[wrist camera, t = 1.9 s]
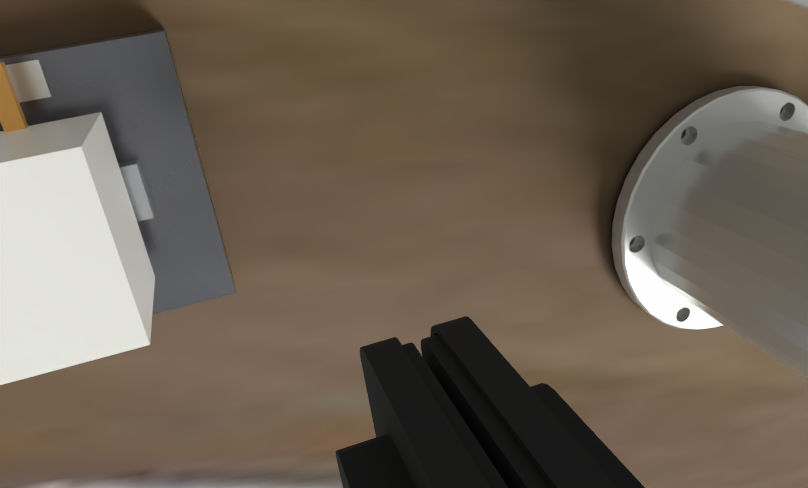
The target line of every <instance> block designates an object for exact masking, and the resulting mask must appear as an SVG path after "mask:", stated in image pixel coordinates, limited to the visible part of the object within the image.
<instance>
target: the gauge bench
mask: <svg viewBox="0 0 808 488" xmlns="http://www.w3.org/2000/svg"><path fill="white" fill-rule="evenodd" d="M0 62H4V63H5V66H6V68H7V71H8V74H9V76H10V79H11V82H12V84H13V87H14V90H15V92H16V95H17V98H18V100H19V103H20V106H21V108H22V111H23V114H24V116H25V119H26V122H27V124H28V126H31V125H36V124H41V123H47V122H52V121H57V120H62V119H67V118H73V117H78V116H83V115H88V114H93V113H99V112H101V113H102V116H103V119H104V122H105V125H106V128H107V131H108V134H109V137H110V140H111V143H112V147H113V150H114V153H115V156H116V159H117V162H118V165H119V168H120V171H121V174H122V177H123V180H124V183H125V186H126V189H127V192H128V195H129V199H130V202H131V205H132V208H133V211H134V214H135V217H136V220H137V223H138V226H139V229H140V232H141V235H142V238H143V241H144V244H145V247H146V251H147V254H148V257H149V260H150V263H151V266H152V269H153V272H154V275H155V285H154V298H153V311H152V314H155V313H159V312H163V311H167V310H171V309H175V308H178V307H182V306H186V305H190V304H194V303H198V302H201V301H205V300H209V299H213V298H217V297H221V296H224V295H228V294H232V293H236V291H235V286H234V281H233V276H232V272H231V269H230V265H229V261H228V258H227V254H226V250H225V247H224V243H223V239H222V236H221V232H220V228H219V225H218V221H217V217H216V214H215V210H214V207H213V203H212V199H211V196H210V192H209V188H208V185H207V181H206V177H205V174H204V170H203V166H202V163H201V159H200V155H199V152H198V148H197V144H196V141H195V137H194V134H193V130H192V126H191V123H190V119H189V115H188V112H187V108H186V104H185V101H184V97H183V93H182V90H181V86H180V82H179V79H178V75H177V71H176V68H175V64H174V61H173V57H172V53H171V50H170V46H169V42H168V39H167V35H166V31H165V28H164V29H159V30H153V31H147V32H141V33H135V34H129V35H123V36H117V37H111V38H105V39H99V40H94V41H88V42H82V43H76V44H70V45H64V46H58V47H52V48H46V49H40V50H34V51H29V52H23V53H17V54H11V55H5V56H0ZM0 131H4V130H3V127H2V125H1V122H0Z"/></svg>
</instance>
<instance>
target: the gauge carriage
mask: <svg viewBox="0 0 808 488" xmlns="http://www.w3.org/2000/svg"><path fill="white" fill-rule="evenodd" d="M0 122H1V125H2V127H3V130H4V131H0V385H2V384H6V383H10V382H14V381H17V380H21V379H25V378H28V377H32V376H36V375H40V374H43V373H47V372H51V371H54V370H58V369H62V368H65V367H69V366H73V365H77V364H80V363H84V362H88V361H91V360H95V359H99V358H103V357H106V356H110V355H114V354H117V353H121V352H125V351H129V350H132V349H136V348H140V347H143V346H147V345H150V337H151V324H152V311H153V298H154V285H155V275H154V272H153V269H152V266H151V263H150V260H149V257H148V254H147V251H146V247H145V244H144V241H143V238H142V235H141V232H140V229H139V226H138V223H137V220H136V217H135V214H134V211H133V208H132V205H131V202H130V199H129V195H128V192H127V189H126V186H125V183H124V180H123V177H122V174H121V171H120V168H119V165H118V162H117V159H116V156H115V153H114V150H113V147H112V143H111V140H110V137H109V134H108V131H107V128H106V125H105V122H104V119H103V116H102V113H101V112H99V113H93V114H88V115H83V116H78V117H73V118H67V119H62V120H57V121H52V122H47V123H41V124H36V125H31V126H28V124H27V122H26V119H25V116H24V114H23V111H22V108H21V106H20V103H19V100H18V98H17V95H16V92H15V90H14V87H13V84H12V82H11V79H10V76H9V74H8V71H7V68H6V66H5V63H4V62H0Z"/></svg>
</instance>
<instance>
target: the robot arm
mask: <svg viewBox="0 0 808 488" xmlns="http://www.w3.org/2000/svg"><path fill="white" fill-rule="evenodd" d="M612 252H613V258H614V264H615V269H616V271H617V274H618V277H619V279H620V282H621V284H622V286H623V288H624V289H625V291H626V292H627V293H628V295H629V296H630V298H631V299H632V301H634V302H635V303H636V304H637V305H638V306H639V307H641V308H642V309H643V310H644V311H645V312H647V313H648V314H650V315H651V316H653V317H654V318H656V319H658V320H659V321H661V322H662V323H664V324H667V325H670V326H673V327H676V328H682V329H694V330H699V329H707V328H714V327H718V326H721V325H723V326H725V327H727V328H728V329H730V330H731V331H733V332H734V333H736V334H737V335H739V336H741V337H742V338H744V339H745V340H747V341H748V342H750V343H752V344H753V345H755V346H756V347H758V348H759V349H761V350H763V351H764V352H766V353H767V354H769V355H770V356H772V357H774V358H775V359H777V360H778V361H780V362H781V363H783V364H785V365H786V366H788V367H789V368H791V369H792V370H794V371H796V372H797V373H799V374H800V375H802V376H803V377H805V378H807V379H808V105H807V104H806V103H804V102H803V101H802V100H801V99H799V98H798V97H796V96H793V95H791V94H788V93H786V92H784V91H781V90H776V89H771V88H766V87H760V86H736V87H731V88H727V89H723V90H718V91H715V92H713V93H711V94H709V95H706V96H704V97H702V98H700V99H698V100H695V101H694V102H692V103H691V104H689V105H688V106H686V107H685V108H684V109H682V110H681V111H679V112H678V113H676V114H675V115H674V116H673V117H672V118H670V119H669V120H668V121H667V122H666V123H665V124H664V125H663V126H662V127H661V128H660V129H659V130H658V131H657V132H656V133H655V134H654V135H653V137H652V138H651V139H650V141H649V142H648V143H647V144H646V146H645V147H644V148H643V150H642V151H641V152H640V154H639V155H638V157H637V159H636V161H635V162H634V164H633V166H632V168H631V170H630V171H629V173H628V175H627V177H626V179H625V182H624V185H623V187H622V190H621V193H620V195H619V198H618V201H617V205H616V210H615V215H614V220H613V225H612ZM421 350H422V356H421V354H420V353H419V351H418V350H417V348H416V347H415V345H414V344H413V343H408V344H405V345H401V343H400V342H399V340H398V339H397V338H396V337H394V338H390V339H387V340H384V341H380V342H377V343H374V344H370V345H367V346H363V347H360V357H361V362H362V367H363V372H364V378H365V383H366V388H367V393H368V398H369V403H370V408H371V413H372V418H373V423H374V428H375V433H376V438H374V439H371V440H368V441H365V442H361V443H358V444H355V445H352V446H349V447H346V448H343V449H340V450H337V451H336V458H337V462H338V467H339V471H340V476H341V480H342V484H343V488H645V487H644V486H643V485H642V484H641V483H640V482H639V481H638V480H637V479H636V478H635V477H634V476H633V475H632V473H631V472H630V471H629V470H628V469H627V468H626V467H625V466H624V465H623V464H622V463H621V462H620V460H619V459H618V458H617V457H616V456H615V455H614V454H613V453H612V452H611V451H610V450H609V449H608V448H607V446H606V445H605V444H604V443H603V442H602V441H601V440H600V439H599V438H598V437H597V436H596V435H595V433H594V432H593V431H592V430H591V429H590V428H589V427H588V426H587V425H586V424H585V423H584V422H583V421H582V419H581V418H580V417H579V416H578V415H577V414H576V413H575V412H574V411H573V410H572V409H571V408H570V406H569V405H568V404H567V403H566V402H565V401H564V400H563V399H562V398H561V397H560V396H559V395H558V394H557V392H556V391H555V390H554V389H552V388H551V387H550V386H549V385H547V384H543V383H541V384H538V385H535V386H532V387H530V386H529V385H528V384H527V383H526V382H525V381H524V380H523V378H522V377H521V376H520V375H519V374H518V373H517V372H516V370H515V369H514V368H513V367H512V366H511V365H510V364H509V362H508V361H507V360H506V359H505V358H504V357H503V356H502V354H501V353H500V352H499V351H498V350H497V349H496V347H495V346H494V345H493V344H492V343H491V342H490V341H489V339H488V338H487V337H486V336H485V335H484V334H483V333H482V331H481V330H480V329H479V328H478V327H477V326H476V325H475V323H474V322H473V321H472V320H471V319H470V318H469V317H462V318H458V319H455V320H452V321H448V322H445V323H441V324H438V325H435V326H432V328H431V337H428V338H425V339H422V340H421Z"/></svg>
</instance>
